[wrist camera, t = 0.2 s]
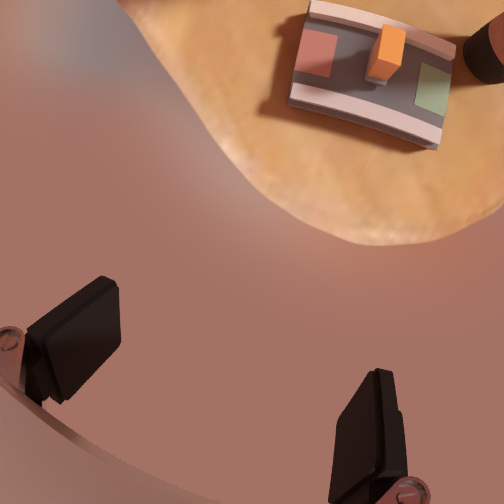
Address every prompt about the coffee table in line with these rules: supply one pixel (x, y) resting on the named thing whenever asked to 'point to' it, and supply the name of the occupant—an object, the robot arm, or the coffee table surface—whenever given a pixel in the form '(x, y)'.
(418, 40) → the breaker block
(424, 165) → the coffee table surface
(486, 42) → the travel mug
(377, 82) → the breaker lever
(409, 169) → the coffee table surface
